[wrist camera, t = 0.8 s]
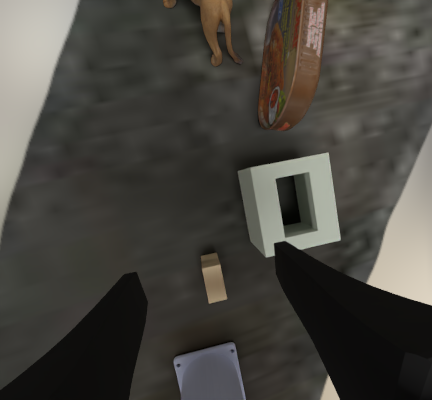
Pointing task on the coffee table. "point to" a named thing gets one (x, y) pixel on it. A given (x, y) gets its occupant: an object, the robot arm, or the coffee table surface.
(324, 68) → the coffee table surface
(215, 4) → the lion figurine
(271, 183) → the box
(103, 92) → the coffee table surface
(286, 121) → the tin
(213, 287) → the block
